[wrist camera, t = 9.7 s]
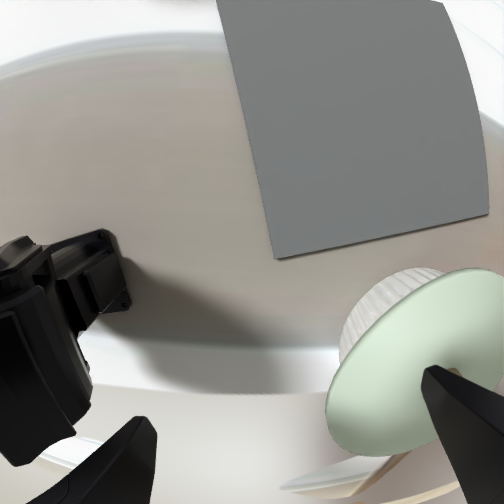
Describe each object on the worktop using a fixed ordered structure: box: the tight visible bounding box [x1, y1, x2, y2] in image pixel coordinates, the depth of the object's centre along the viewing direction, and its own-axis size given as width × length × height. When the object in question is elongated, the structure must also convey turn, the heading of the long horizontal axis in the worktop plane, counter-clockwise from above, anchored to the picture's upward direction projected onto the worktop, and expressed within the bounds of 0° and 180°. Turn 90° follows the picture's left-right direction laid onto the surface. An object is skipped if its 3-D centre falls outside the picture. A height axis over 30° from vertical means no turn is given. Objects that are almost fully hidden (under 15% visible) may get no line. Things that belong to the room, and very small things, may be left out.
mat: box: [216, 0, 489, 259], centre depth 16 cm, size 19×19×1 cm
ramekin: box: [339, 268, 446, 365], centre depth 18 cm, size 13×13×7 cm
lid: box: [325, 268, 504, 457], centre depth 13 cm, size 16×16×5 cm
